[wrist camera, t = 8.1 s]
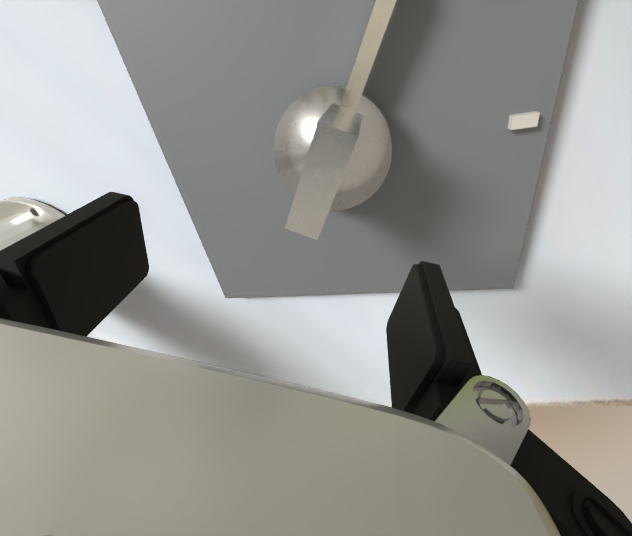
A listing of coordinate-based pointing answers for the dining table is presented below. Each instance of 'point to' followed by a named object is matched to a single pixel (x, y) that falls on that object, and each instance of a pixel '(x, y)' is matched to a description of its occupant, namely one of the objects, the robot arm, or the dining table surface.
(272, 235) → the dial board
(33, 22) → the dining table surface
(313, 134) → the knob
